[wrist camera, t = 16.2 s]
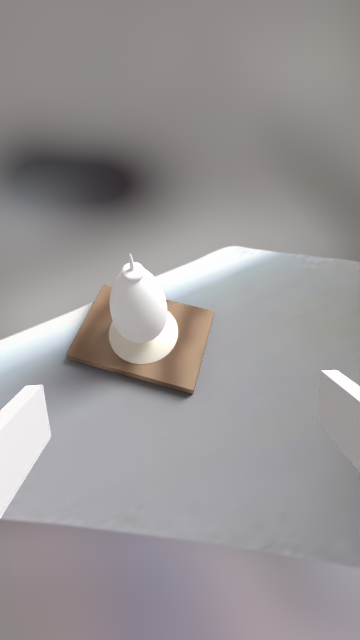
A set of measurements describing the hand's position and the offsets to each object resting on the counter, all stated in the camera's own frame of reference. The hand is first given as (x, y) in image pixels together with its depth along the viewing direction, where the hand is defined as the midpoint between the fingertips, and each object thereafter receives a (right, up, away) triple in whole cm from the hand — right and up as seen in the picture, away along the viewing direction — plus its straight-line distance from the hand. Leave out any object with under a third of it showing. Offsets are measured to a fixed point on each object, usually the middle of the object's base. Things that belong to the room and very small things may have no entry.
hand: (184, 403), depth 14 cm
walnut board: (-6, +1, +35) cm, 35 cm away
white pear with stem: (-6, +2, +33) cm, 34 cm away
